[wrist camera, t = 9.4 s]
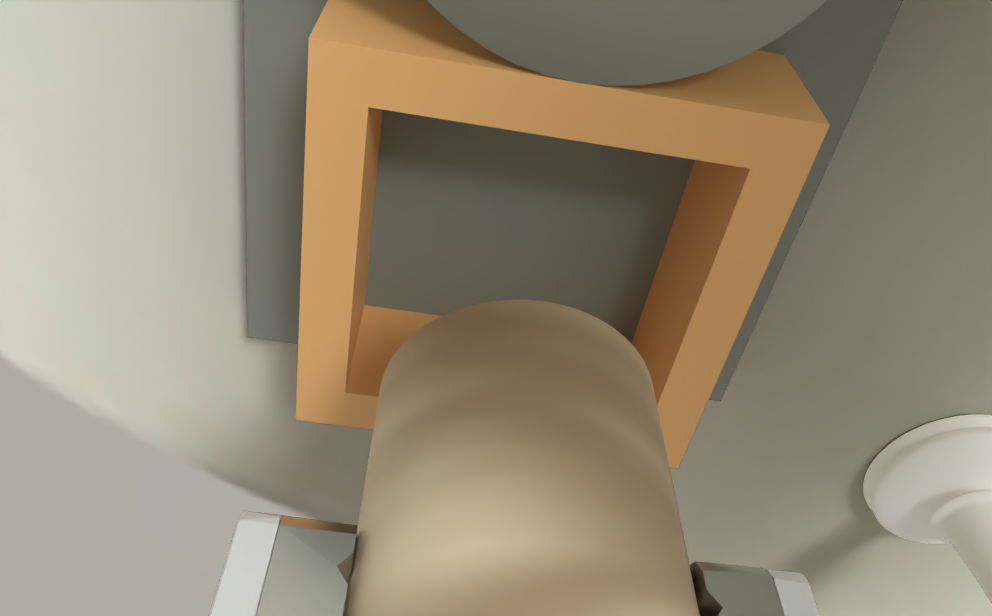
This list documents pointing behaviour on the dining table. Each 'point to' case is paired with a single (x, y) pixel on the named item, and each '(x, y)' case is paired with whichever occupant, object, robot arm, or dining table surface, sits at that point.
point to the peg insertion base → (536, 173)
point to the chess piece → (939, 489)
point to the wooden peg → (518, 475)
